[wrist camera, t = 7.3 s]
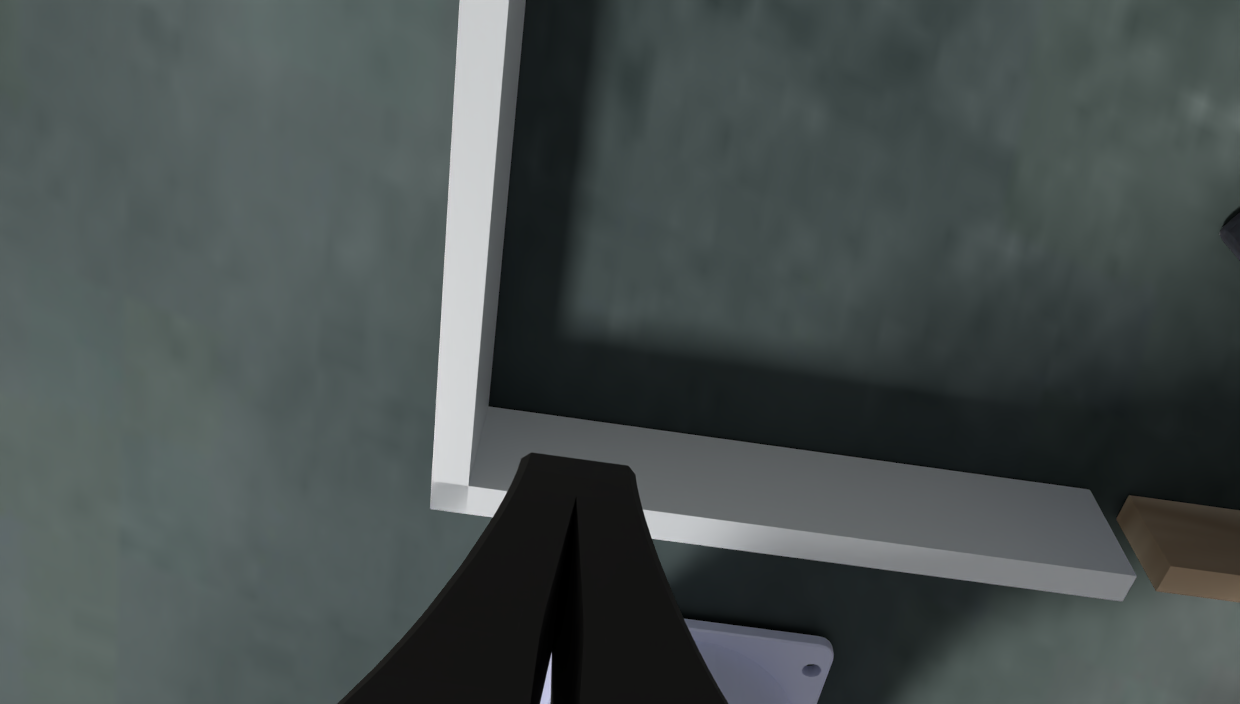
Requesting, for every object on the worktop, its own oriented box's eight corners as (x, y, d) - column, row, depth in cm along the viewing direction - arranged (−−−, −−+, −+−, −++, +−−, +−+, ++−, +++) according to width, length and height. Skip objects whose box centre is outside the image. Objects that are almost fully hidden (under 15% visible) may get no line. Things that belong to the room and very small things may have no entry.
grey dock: (1077, 513, 26) (1122, 601, 23) (453, 428, 25) (430, 508, 23) (1421, -170, 18) (1548, -149, 15) (507, -326, 17) (478, -331, 14)
